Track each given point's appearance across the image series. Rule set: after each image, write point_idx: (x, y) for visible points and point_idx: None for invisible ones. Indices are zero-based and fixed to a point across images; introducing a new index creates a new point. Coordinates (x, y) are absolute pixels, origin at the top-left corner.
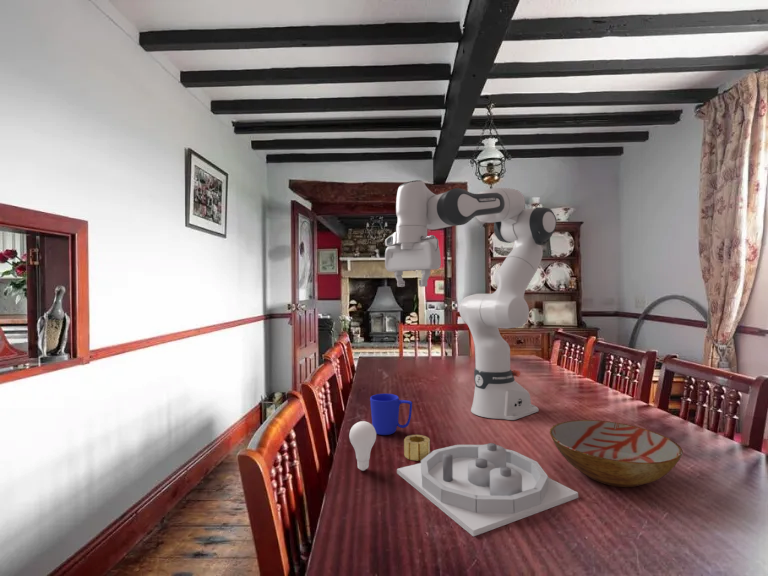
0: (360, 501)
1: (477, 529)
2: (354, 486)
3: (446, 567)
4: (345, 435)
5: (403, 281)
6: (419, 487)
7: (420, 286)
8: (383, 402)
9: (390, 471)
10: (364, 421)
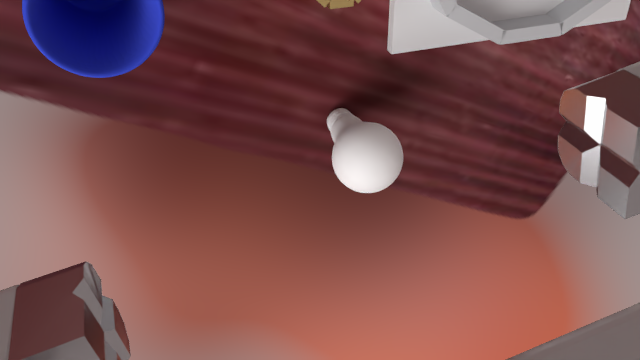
0: (441, 147)
1: (627, 10)
2: None
3: None
4: (83, 110)
5: (103, 350)
6: (481, 40)
7: (571, 145)
8: (159, 40)
9: (370, 60)
10: (378, 170)
